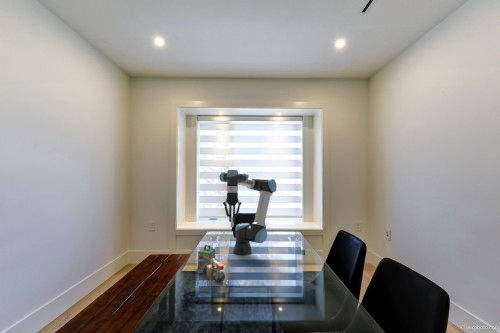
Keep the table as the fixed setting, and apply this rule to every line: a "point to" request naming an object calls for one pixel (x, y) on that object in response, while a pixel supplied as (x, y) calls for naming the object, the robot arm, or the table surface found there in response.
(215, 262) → the lever
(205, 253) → the chalk box
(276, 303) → the table surface
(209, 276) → the valve
